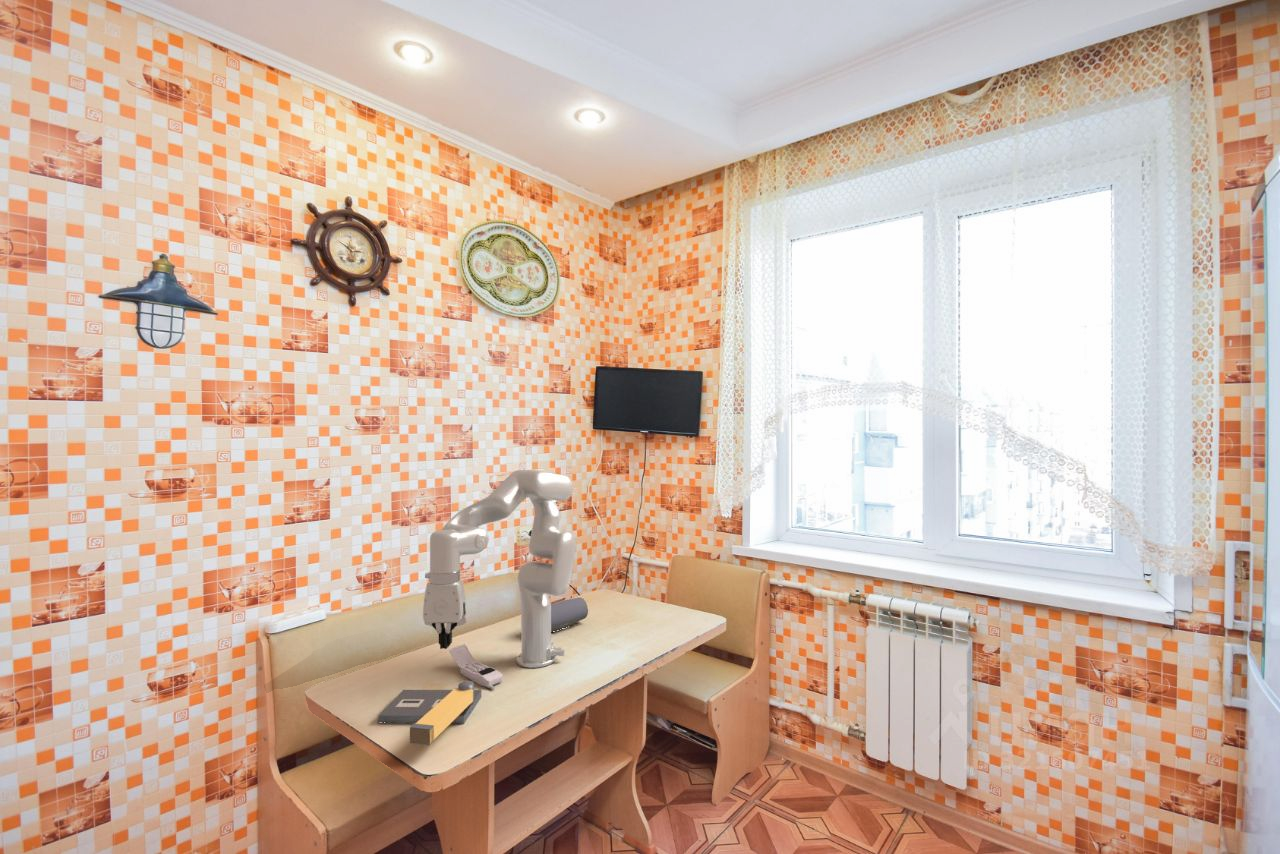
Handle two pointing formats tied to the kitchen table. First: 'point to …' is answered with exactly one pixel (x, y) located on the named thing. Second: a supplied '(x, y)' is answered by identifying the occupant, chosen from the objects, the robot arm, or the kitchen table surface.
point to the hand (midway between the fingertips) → (445, 646)
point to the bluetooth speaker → (567, 613)
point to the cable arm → (442, 714)
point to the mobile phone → (475, 668)
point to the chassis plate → (420, 706)
